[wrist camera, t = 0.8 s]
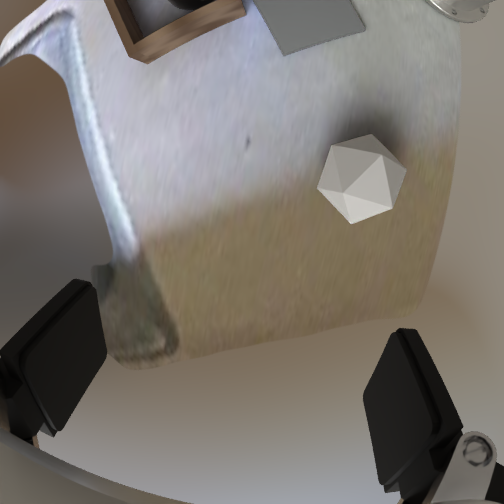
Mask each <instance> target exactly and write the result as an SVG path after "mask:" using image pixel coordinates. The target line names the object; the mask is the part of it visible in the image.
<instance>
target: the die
mask: <svg viewBox="0 0 504 504" xmlns="http://www.w3.org/2000/svg"><path fill="white" fill-rule="evenodd" d="M406 171H407V169H406V168H405V167H404V166H403V165H402V164H401V163H400V162H399V161H398V160H397V159H396V158H395V157H394V155H393V154H392V153H391V152H390V151H389V150H388V149H387V148H386V147H385V146H384V145H383V144H382V143H381V142H380V141H379V140H378V139H377V138H376V137H375V136H373V135H372V134H369V135H366V136H362V137H358V138H354V139H351V140H347V141H344V142H340V143H337V144H333V145H331V148H330V151H329V154H328V157H327V160H326V163H325V166H324V169H323V172H322V175H321V178H320V181H319V184H318V186H317V189H318V190H319V191H320V192H321V193H322V194H323V195H324V196H325V197H326V198H327V199H328V200H329V201H330V202H331V203H332V204H333V205H334V206H335V207H336V209H337V210H338V211H339V212H340V213H341V214H342V215H343V216H344V217H345V218H346V219H347V220H348V222H349V223H350V224H353V223H356V222H358V221H361V220H364V219H366V218H369V217H371V216H374V215H377V214H379V213H382V212H384V211H387V210H389V209H392V208H393V206H394V203H395V201H396V198H397V196H398V193H399V190H400V188H401V185H402V182H403V179H404V177H405V174H406Z"/></svg>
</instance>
